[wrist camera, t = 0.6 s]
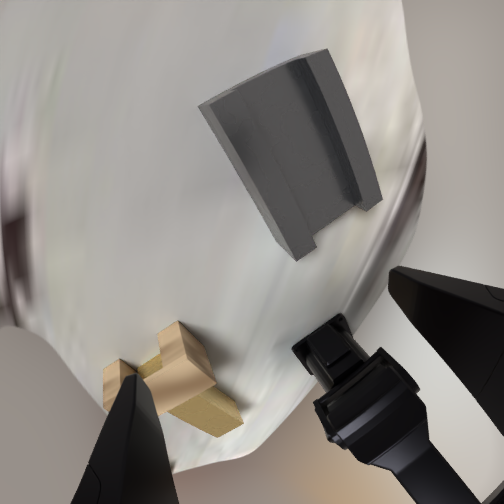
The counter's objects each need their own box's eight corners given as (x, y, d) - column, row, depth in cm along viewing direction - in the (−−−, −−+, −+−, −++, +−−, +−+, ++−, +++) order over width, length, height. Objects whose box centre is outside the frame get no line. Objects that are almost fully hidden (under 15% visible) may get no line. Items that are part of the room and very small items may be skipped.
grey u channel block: (355, 187, 25) (382, 199, 22) (276, 241, 24) (296, 261, 21) (300, 54, 18) (327, 48, 15) (197, 106, 18) (208, 104, 15)
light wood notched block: (204, 346, 26) (216, 383, 23) (132, 389, 26) (136, 427, 22) (177, 320, 24) (187, 359, 20) (103, 369, 24) (103, 408, 20)
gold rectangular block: (233, 399, 32) (243, 423, 29) (209, 413, 32) (217, 437, 29) (165, 347, 25) (171, 376, 22) (137, 366, 25) (140, 395, 22)
